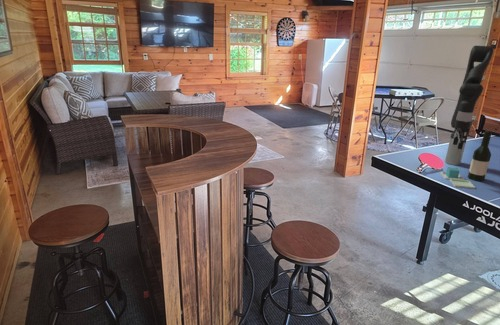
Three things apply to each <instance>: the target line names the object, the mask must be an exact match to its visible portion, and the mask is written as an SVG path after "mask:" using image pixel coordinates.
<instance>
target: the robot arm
mask: <svg viewBox="0 0 500 325" xmlns="http://www.w3.org/2000/svg"><path fill="white" fill-rule="evenodd" d="M493 54H494V47H493V46H489V45H473V46H472V48H471V50H470V53H469V57H468V61H467V67H466V70H465V74H464V79H463V81H462V83H461V86H460V87H459V91H458V92H459V93H458V94H459V95H458V99H457V104H456V106H455V109H454V111H453V115H452V116H451V117H452V118H451V121H450V126H451V128H453V129H454V130H453V132H452V133H451V134H450V137H449V141H448V142H449V143H448V147H447V151H446V155H445V158H444V159H445V160H444V163H446V164H448V165H450V166H451V165H452V166H461V164H462V160H463V156H464V152H465V149H466V148H465V147H466V145H467V144H466V143H467V139H468V136H469V133H470V130H471V128H472V127H471V126H472V123H473V117H474V111H475V106H476V103H477V101H478V100H479V98H480V97H481V95H482V93H483V91H484V86H483V85H482V84H481V83H482V81H483V77H484V74H485V72H486V70H487V68H488V66H489V64H490V62H491V60H492V57H493ZM475 63H479V64H478V65H475Z"/></svg>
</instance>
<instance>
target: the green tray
mask: <svg viewBox="0 0 500 325" xmlns="http://www.w3.org/2000/svg"><path fill="white" fill-rule="evenodd" d="M449 181H450V183H452V185H453V186H454V187H455V188H463V189H474V190H475V189H476V186H475V185H474V184H473V183H472V181H471V180H470V179H468V180H467V179H465V180H459V179H450V180H449Z"/></svg>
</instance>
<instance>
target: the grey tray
mask: <svg viewBox="0 0 500 325" xmlns="http://www.w3.org/2000/svg"><path fill="white" fill-rule="evenodd" d="M446 173H447V171H440V175H441V176H442V177H443V178H444V180H448V181H450V179H457V178H448V177H447V175H446ZM458 179H459V180H466V179H465V178H464V177H463V176H462V175H461V174H460V173H459V176H458Z"/></svg>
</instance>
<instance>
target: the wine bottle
mask: <svg viewBox="0 0 500 325" xmlns="http://www.w3.org/2000/svg"><path fill="white" fill-rule="evenodd" d="M491 137H492V130H491V129H485V131H484V133H483V137H482V140H481V144H480V145H479V147H477V148H476V149H475V150H474V151H473V154H472V159H471V162H470V166H469V170H468V174H467V178H468V180H470V181H475V182H484V181H485V180H486V179H485V178H486V175H487V171H488V167H489V164H490V160H491V157H492V153H491V151H490V148H489V144H490V141H491Z"/></svg>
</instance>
